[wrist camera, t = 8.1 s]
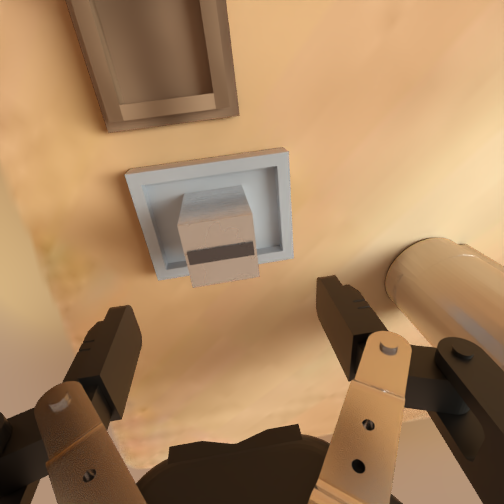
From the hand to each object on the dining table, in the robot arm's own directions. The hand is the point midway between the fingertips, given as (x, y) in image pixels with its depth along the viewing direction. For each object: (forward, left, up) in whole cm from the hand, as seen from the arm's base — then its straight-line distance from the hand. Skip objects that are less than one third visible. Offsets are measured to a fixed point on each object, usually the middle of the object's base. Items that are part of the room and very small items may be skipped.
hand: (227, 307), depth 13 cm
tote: (0, +2, -16) cm, 16 cm away
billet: (0, +2, -15) cm, 15 cm away
